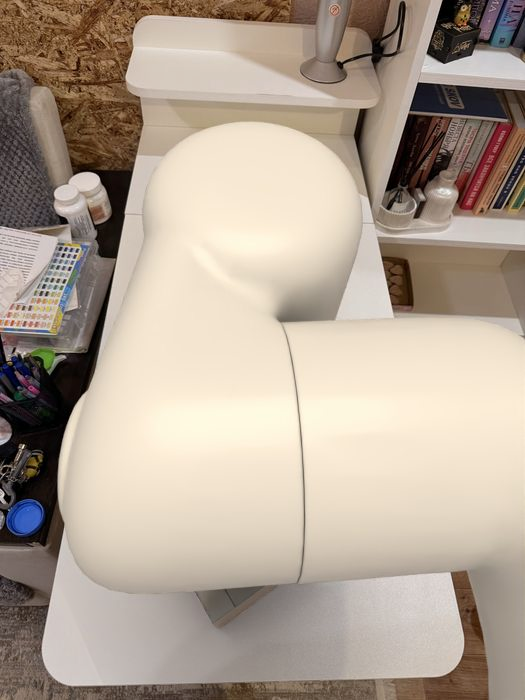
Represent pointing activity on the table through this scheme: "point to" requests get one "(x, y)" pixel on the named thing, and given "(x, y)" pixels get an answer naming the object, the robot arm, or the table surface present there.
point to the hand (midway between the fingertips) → (241, 459)
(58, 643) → the table surface
